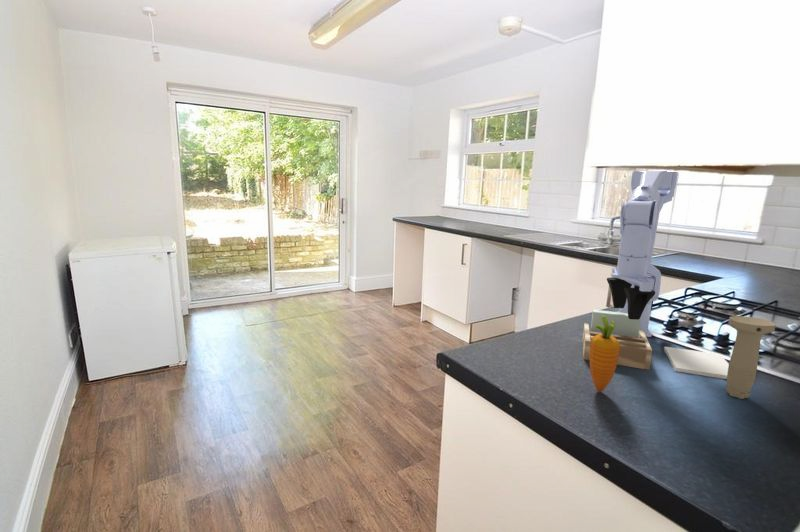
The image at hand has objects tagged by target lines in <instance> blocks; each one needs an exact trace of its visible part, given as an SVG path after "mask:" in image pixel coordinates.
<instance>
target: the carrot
mask: <svg viewBox="0 0 800 532" xmlns="http://www.w3.org/2000/svg"><path fill="white" fill-rule="evenodd" d="M602 320H603V323H604V327H605V328H604V327H602V326H601V325H599V324H596V325H595V326H596V327H597V328H599V329H600V331H601V332H602V334H598V335H596V336H594V337H592V338H591V342H590V358H589V360H588V361H589V369H590V371H589V372H590V376H591V379H592V382H593V384H594V387H595V390H596V391H597V392H598V393H601V392H604V390H605V389H606V388H607V387H608V385H609V384H610V383H611V381H612V379H613V376H614V374H615V373H616V372H615V371H616V369H617V366H618V365H617V362H618V357H619V350H620V343H619V342H618V340H617V339H616V338H615V337H613V336H611V334H612V332H613V329H614V325H615V323H614V322H613V321H611V324H610V326H609V325H608V321H607V318H606V316H602Z"/></svg>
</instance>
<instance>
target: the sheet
mask: <svg viewBox="0 0 800 532" xmlns="http://www.w3.org/2000/svg"><path fill="white" fill-rule="evenodd" d="M602 316H606V318H607V321H608V325H609V326H610V324H611V321H613V322H614V323H615V325H614V329H613V332H612V334H614V335H621V336H629V337H636V338H638V335H639V327H640V320H641V317H640V319H639V320H636V319H629V318H628V313H620V312H619V311H610V310H603V309H602V310H600V309H592V313H591V324H590V331H592V332H599V333H602V332H601V331H600V329H599V328H597V327H596V326H595V325H596V324H599V325H601V326H602V327H604V323H603V320H602ZM604 328H605V327H604Z"/></svg>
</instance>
